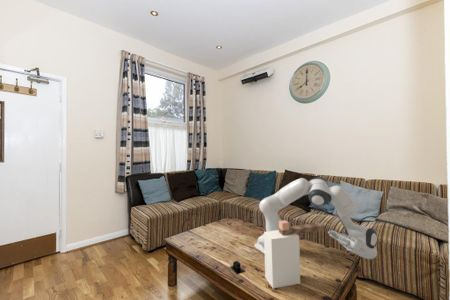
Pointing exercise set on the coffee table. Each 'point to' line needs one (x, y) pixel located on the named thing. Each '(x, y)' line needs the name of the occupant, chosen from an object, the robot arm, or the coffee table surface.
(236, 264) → the black angular part
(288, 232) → the walnut strip
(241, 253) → the coffee table surface
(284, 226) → the terracotta cube
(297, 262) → the pedestal
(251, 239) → the coffee table surface
